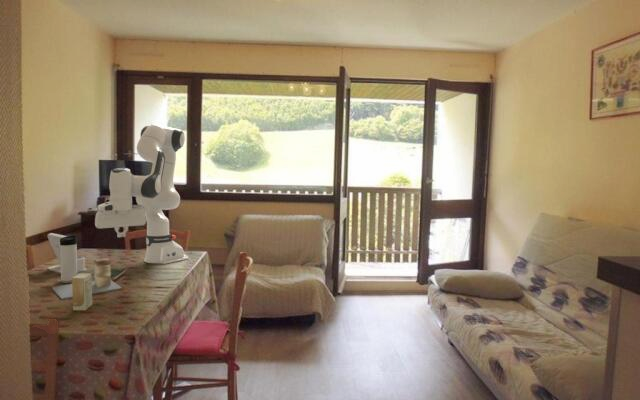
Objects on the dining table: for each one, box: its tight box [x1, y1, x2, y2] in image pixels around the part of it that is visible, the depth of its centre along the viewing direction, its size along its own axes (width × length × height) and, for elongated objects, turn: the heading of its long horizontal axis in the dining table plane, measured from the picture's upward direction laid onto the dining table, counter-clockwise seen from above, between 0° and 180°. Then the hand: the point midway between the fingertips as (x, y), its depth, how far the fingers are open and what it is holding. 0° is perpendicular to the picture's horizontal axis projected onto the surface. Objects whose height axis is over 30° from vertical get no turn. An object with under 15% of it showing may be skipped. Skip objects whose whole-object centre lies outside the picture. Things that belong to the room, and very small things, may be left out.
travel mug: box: [60, 235, 78, 284], centre depth 183 cm, size 6×7×20 cm
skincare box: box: [71, 272, 93, 311], centre depth 153 cm, size 6×4×12 cm
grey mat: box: [51, 279, 123, 301], centre depth 175 cm, size 22×18×1 cm
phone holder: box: [47, 232, 87, 274], centre depth 201 cm, size 17×10×18 cm, turn 60°
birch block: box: [93, 257, 112, 287], centre depth 178 cm, size 5×5×11 cm
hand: (121, 236), depth 182 cm, fingers closed
